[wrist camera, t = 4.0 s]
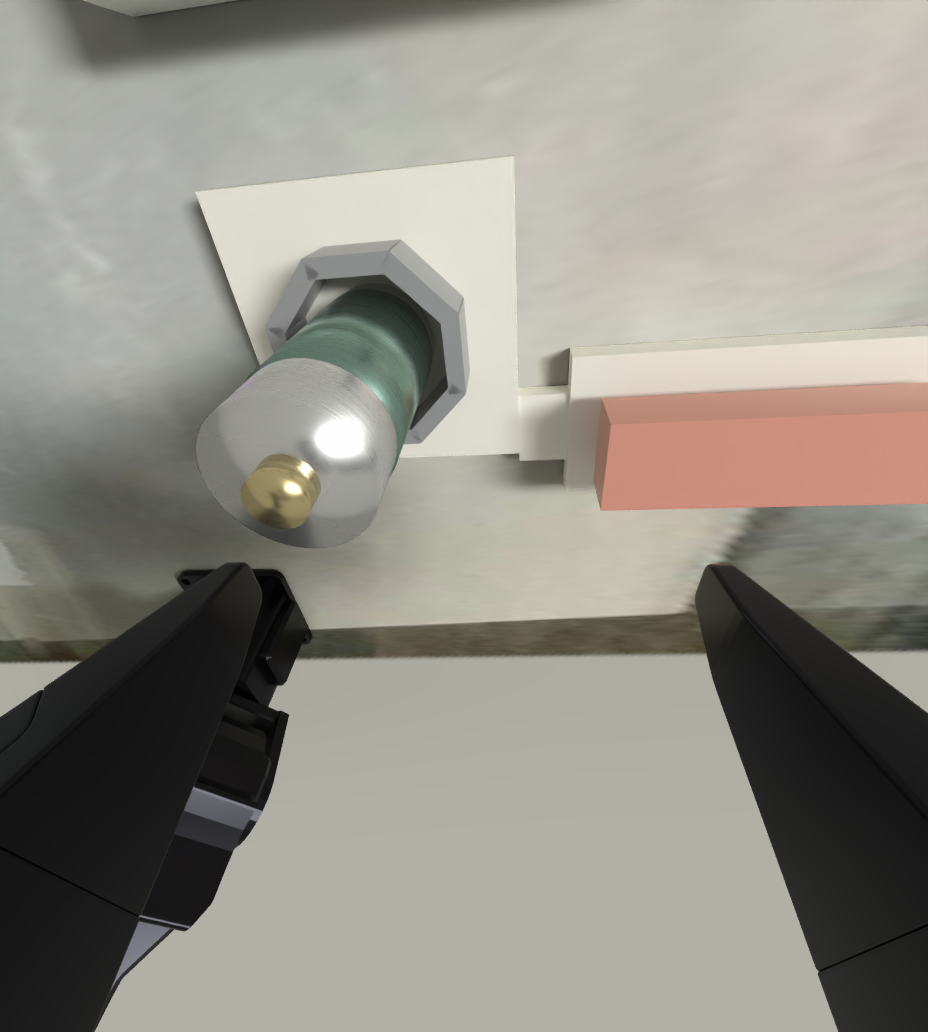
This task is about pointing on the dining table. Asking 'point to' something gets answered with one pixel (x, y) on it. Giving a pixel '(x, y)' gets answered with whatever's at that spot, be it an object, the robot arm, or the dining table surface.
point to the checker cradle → (491, 311)
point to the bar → (764, 448)
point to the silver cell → (321, 421)
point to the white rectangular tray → (150, 5)
